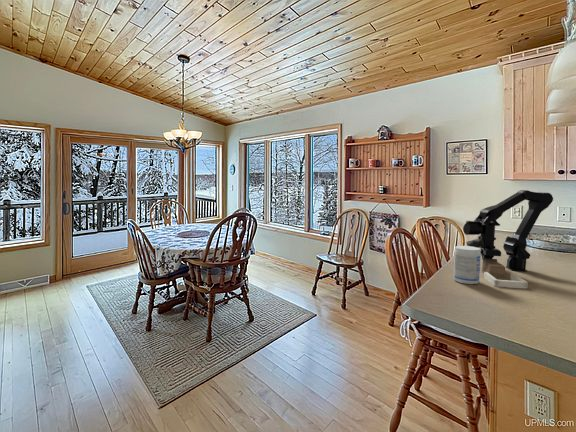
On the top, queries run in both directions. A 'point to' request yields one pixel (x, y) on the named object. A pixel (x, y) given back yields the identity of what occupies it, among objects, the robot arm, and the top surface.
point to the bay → (507, 281)
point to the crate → (493, 268)
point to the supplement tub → (467, 264)
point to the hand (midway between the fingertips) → (485, 266)
